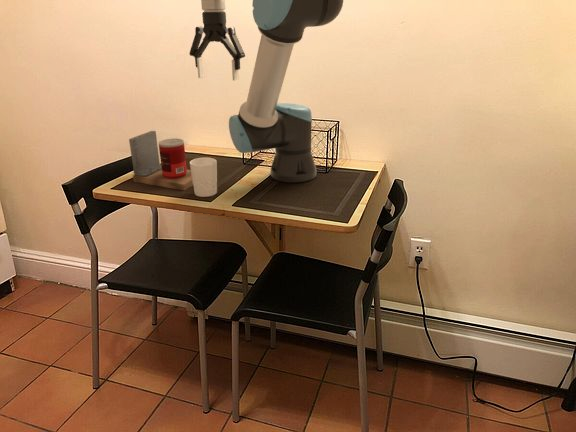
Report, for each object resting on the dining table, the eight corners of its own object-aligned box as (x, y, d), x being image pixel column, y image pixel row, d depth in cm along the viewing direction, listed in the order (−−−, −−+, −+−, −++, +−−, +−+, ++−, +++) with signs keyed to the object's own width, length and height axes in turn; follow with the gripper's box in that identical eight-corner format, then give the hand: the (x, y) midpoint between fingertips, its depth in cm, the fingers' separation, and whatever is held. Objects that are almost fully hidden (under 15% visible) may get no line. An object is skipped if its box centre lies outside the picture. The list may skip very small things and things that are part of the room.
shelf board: (206, 178, 162) (205, 172, 162) (184, 190, 153) (184, 184, 152) (157, 170, 170) (156, 164, 169) (133, 181, 160) (132, 175, 160)
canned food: (190, 171, 163) (186, 138, 158) (182, 179, 156) (179, 145, 151) (167, 170, 164) (163, 138, 159) (159, 178, 157) (154, 145, 152)
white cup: (198, 199, 146) (195, 167, 142) (188, 191, 152) (185, 160, 148) (223, 194, 150) (220, 162, 145) (212, 186, 156) (210, 155, 152)
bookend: (167, 166, 167) (163, 132, 162) (145, 177, 158) (140, 140, 153) (156, 165, 169) (151, 130, 164) (134, 175, 160) (129, 139, 155)
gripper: (253, 10, 158) (256, 79, 166) (188, 10, 167) (194, 75, 176) (241, 11, 151) (245, 82, 160) (174, 11, 161) (181, 78, 170)
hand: (218, 78), depth 168 cm, fingers open, 13 cm apart
